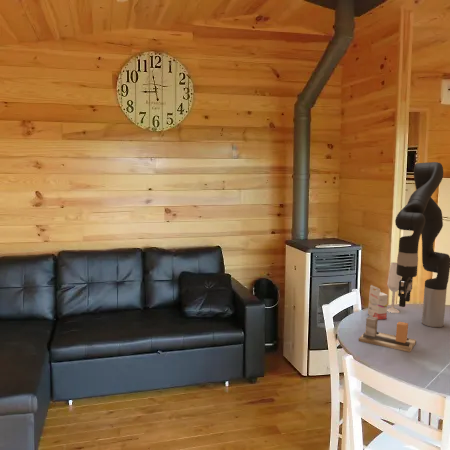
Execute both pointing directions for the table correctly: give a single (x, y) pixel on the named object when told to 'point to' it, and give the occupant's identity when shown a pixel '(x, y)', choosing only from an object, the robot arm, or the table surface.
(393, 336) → the pitch plate
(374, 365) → the table surface
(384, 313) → the ink cartridge box
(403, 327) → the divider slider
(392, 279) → the champagne flute
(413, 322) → the table surface
